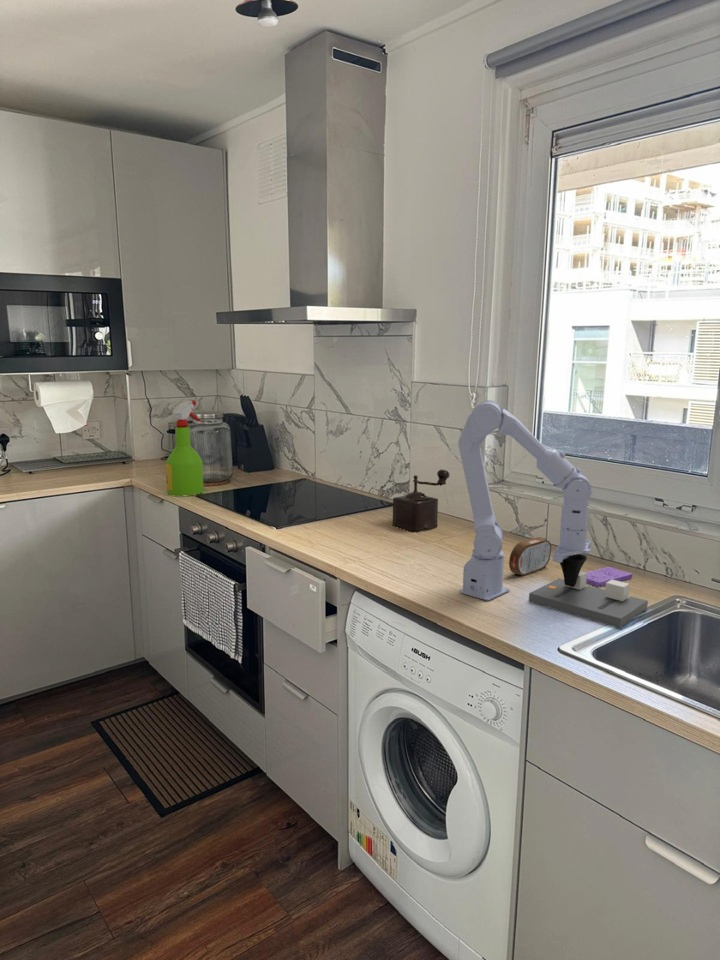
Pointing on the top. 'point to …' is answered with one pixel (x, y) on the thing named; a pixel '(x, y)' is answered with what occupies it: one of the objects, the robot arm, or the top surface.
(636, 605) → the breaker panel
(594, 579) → the sponges
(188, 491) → the spray bottle
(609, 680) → the top surface
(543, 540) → the tin
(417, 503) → the manual coffee grinder
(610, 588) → the block
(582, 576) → the off-white cube
